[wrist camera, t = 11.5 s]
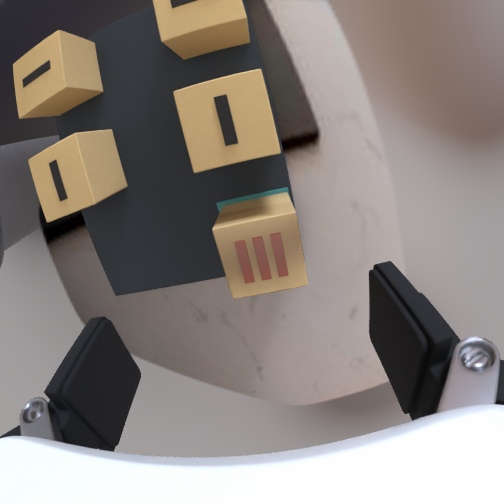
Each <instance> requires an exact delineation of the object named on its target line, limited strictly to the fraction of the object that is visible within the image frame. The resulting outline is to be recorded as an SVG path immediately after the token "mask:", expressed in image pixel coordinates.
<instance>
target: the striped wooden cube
mask: <svg viewBox="0 0 504 504" xmlns="http://www.w3.org/2000/svg"><path fill="white" fill-rule="evenodd" d="M212 231H213V235H214V238H215V241H216V245H217V248H218V252H219V255H220V258H221V262H222V265H223V268H224V272H225V275H226V278H227V282H228V285H229V288H230V291H231V295H232V298H233V299H237V298H243V297H248V296H254V295H259V294H265V293H270V292H276V291H281V290H286V289H291V288H296V287H301V286H306V285H308V279H307V273H306V267H305V260H304V254H303V249H302V243H301V237H300V231H299V226H298V220H297V215H296V211H295V209H294V206H293V204H292V202H291V199H290V197H289V195H288V193H287V192H284V193H279V194H274V195H270V196H265V197H260V198H255V199H251V200H246V201H241V202H237V203H232V204H228V205H224V206H222V209H221V211H220V213H219V215H218V217H217V220H216V222H215V224H214V226H213V229H212Z"/></svg>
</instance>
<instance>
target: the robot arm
mask: <svg viewBox="0 0 504 504" xmlns="http://www.w3.org/2000/svg"><path fill="white" fill-rule="evenodd" d="M369 300H370V317H369V334H370V339H371V342H372V344H373V346H374V348H375V350H376V352H377V355H378V357H379V359H380V361H381V363H382V365H383V367H384V370H385V372H386V374H387V376H388V378H389V381H390V383H391V385H392V387H393V390H394V392H395V394H396V397H397V399H398V401H399V404H400V406H401V408H402V411H403V412H404V413H405V414H407V413H409V414H410V416H411V419H412V421H410V422H406V423H403V424H400V425H396V426H393V427H390V428H387V429H384V430H380V431H377V432H373V433H370V434H366V435H363V436H358V437H354V438H350V439H346V440H341V441H337V442H333V443H329V444H323V445H318V446H314V447H308V448H302V449H296V450H289V451H282V452H275V453H266V454H256V455H245V456H230V457H193V458H192V457H163V456H148V455H137V454H127V453H119V452H114V449H115V446H117V445H118V443H119V441H120V437H121V434H122V431H123V428H124V425H125V422H126V419H127V416H128V413H129V410H130V407H131V404H132V401H133V398H134V396H135V393H136V390H137V387H138V384H139V381H140V378H141V372H140V369H139V368H138V366H137V365H136V363H135V361H134V360H133V358H132V357H131V355H130V353H129V352H128V350H127V348H126V347H125V345H124V343H123V341H122V340H121V338H120V336H119V334H118V333H117V331H116V329H115V327H114V326H113V324H112V322H111V321H110V320H108V319H107V318H106V317H96V318H91V319H90V320H89V322H88V323H87V325H86V326H85V327H84V329H83V330H82V332H81V334H80V335H79V336H78V338H77V339H76V341H75V343H74V344H73V346H72V347H71V349H70V350H69V352H68V353H67V355H66V356H65V358H64V360H63V361H62V363H61V365H60V366H59V368H58V369H57V371H56V373H55V374H54V376H53V378H52V379H51V381H50V383H49V385H48V386H47V388H46V390H45V391H44V393H45V394H46V395H47V396H48V398H49V399H50V401H49V403H48V402H47V401H46V400H45V399H44V398H42V397H36V398H34V399H31V400H30V401H29V402H27V403H26V404H25V406H24V407H23V409H22V410H21V413H20V425H19V426H17V427H16V428H14V429H12V430H11V431H9V432H7V433H6V434H4V435H2V436H1V437H0V504H504V360H500V353H499V351H498V349H497V347H496V346H495V345H494V344H493V343H492V342H491V341H489V340H487V339H485V338H482V337H469V338H465V339H463V340H462V341H461V340H460V339H459V338H458V336H457V335H456V334H455V333H454V331H453V330H452V329H451V327H450V326H449V325H448V324H447V322H446V321H445V320H444V319H443V317H442V316H441V315H440V314H439V312H438V311H437V310H436V309H435V308H434V307H433V305H432V304H431V303H430V302H429V300H428V299H427V298H426V297H425V296H424V295H423V294H422V293H419V292H418V291H417V290H416V289H415V288H414V287H413V285H412V284H411V283H410V282H409V281H408V280H407V278H406V277H405V276H404V275H403V274H402V273H401V272H400V271H399V269H398V268H397V267H396V266H395V265H394V264H393V263H392V262H391V261H388V262H384V263H379V264H375V265H374V268H373V270H370V271H369ZM421 417H422V418H421ZM418 418H419V419H418ZM415 419H416V420H415ZM98 449H99V450H98Z"/></svg>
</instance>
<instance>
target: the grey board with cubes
mask: <svg viewBox="0 0 504 504" xmlns="http://www.w3.org/2000/svg"><path fill="white" fill-rule="evenodd" d="M153 4H154V6H152V7H149V8H147V9H145V10H142V11H140V12H137V13H135V14H133V15H130V16H128V17H126V18H124V19H121V20H119V21H117V22H115V23H113V24H111V25H109V26H107V27H105V28H103V29H101V30H99V31H97V32H96V33H94V34H92V35H90V36H88V37H86V38H85V39H83V38H81V37H78V36H75V35H73V34H70V33H67V32H64V31H61V30H58V31H56V32H55V33H53V34H52V35H50V36H49V37H47V38H46V39H45V40H43V41H42V42H41V43H39V44H38V45H37V46H35V47H34V48H33V49H31V50H30V51H29V52H28V53H26V54H25V55H24V56H22V57H21V58H20V59H19V60H18V61H16V62H15V63H14V64H13V71H14V81H15V82H14V83H15V92H16V100H17V106H18V113H19V119H22V118H34V117H47V116H55V117H56V122H57V126H58V131H59V136H60V140H61V141H59V142H57V143H56V144H54V145H52V146H50V147H49V148H47V149H45V150H44V151H42V152H40V153H39V154H37V155H35V156H34V157H32V158H31V159H29V165H30V169H31V173H32V176H33V180H34V184H35V187H36V190H37V194H38V197H39V200H40V203H41V206H42V209H43V212H44V215H45V218H46V221H47V222H51V221H53V220H56V219H58V218H61V217H63V216H66V215H68V214H71V213H73V212H76V211H79V210H81V212H82V215H83V217H84V220H85V223H86V226H87V228H88V231H89V234H90V236H91V239H92V242H93V244H94V247H95V249H96V252H97V254H98V256H99V259H100V261H101V264H102V266H103V268H104V271H105V273H106V275H107V277H108V280H109V282H110V284H111V286H112V288H113V291H114V293H115V295H116V296H117V295H123V294H129V293H135V292H141V291H146V290H152V289H158V288H164V287H169V286H175V285H181V284H186V283H192V282H197V281H203V280H208V279H214V278H219V277H225V276H226V275H225V272H224V268H223V265H222V262H221V258H220V255H219V252H218V248H217V245H216V241H215V238H214V235H213V231H212V229H213V226H214V224H215V222H216V220H217V217H218V215H219V213H220V211H221V209H222V206H224V205H228V204H232V203H237V202H241V201H246V200H251V199H255V198H260V197H265V196H270V195H274V194H279V193H284V192H287V193H288V195H289V197H290V199H291V202H292V204H293V206H294V201H293V196H292V191H291V186H290V181H289V176H288V171H287V166H286V161H285V157H284V152H283V147H282V143H281V138H280V134H279V129H278V125H277V121H276V116H275V112H274V108H273V104H272V100H271V95H270V91H269V87H268V83H267V79H266V75H265V72H264V68H263V64H262V60H261V56H260V53H259V49H258V45H257V42H256V38H255V35H254V31H253V27H252V24H251V21H250V17H249V14H248V10H247V7H246V4H245V0H153ZM294 209H295V206H294Z"/></svg>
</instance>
